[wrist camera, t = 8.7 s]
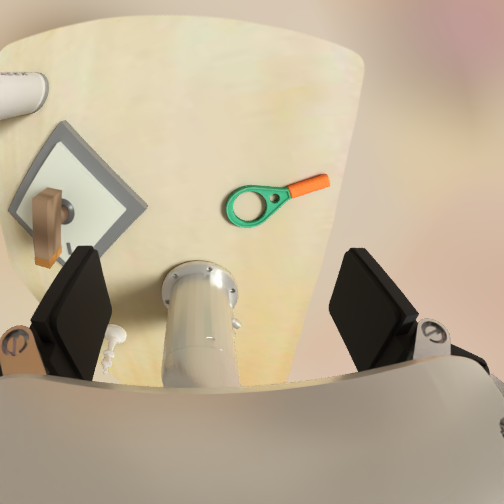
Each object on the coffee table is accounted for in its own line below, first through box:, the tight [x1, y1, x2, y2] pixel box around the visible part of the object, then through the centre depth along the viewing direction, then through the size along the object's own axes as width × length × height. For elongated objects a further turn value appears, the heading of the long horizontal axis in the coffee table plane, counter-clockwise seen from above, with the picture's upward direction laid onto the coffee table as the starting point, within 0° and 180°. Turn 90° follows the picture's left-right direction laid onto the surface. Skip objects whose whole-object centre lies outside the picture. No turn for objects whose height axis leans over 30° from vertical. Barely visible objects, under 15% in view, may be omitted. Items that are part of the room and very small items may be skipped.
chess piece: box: [101, 324, 127, 374], centre depth 43 cm, size 5×5×10 cm
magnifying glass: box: [226, 174, 330, 228], centre depth 38 cm, size 15×6×2 cm, turn 109°
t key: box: [32, 187, 69, 269], centre depth 29 cm, size 9×2×7 cm, turn 161°
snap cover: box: [8, 120, 148, 266], centre depth 33 cm, size 18×18×3 cm
